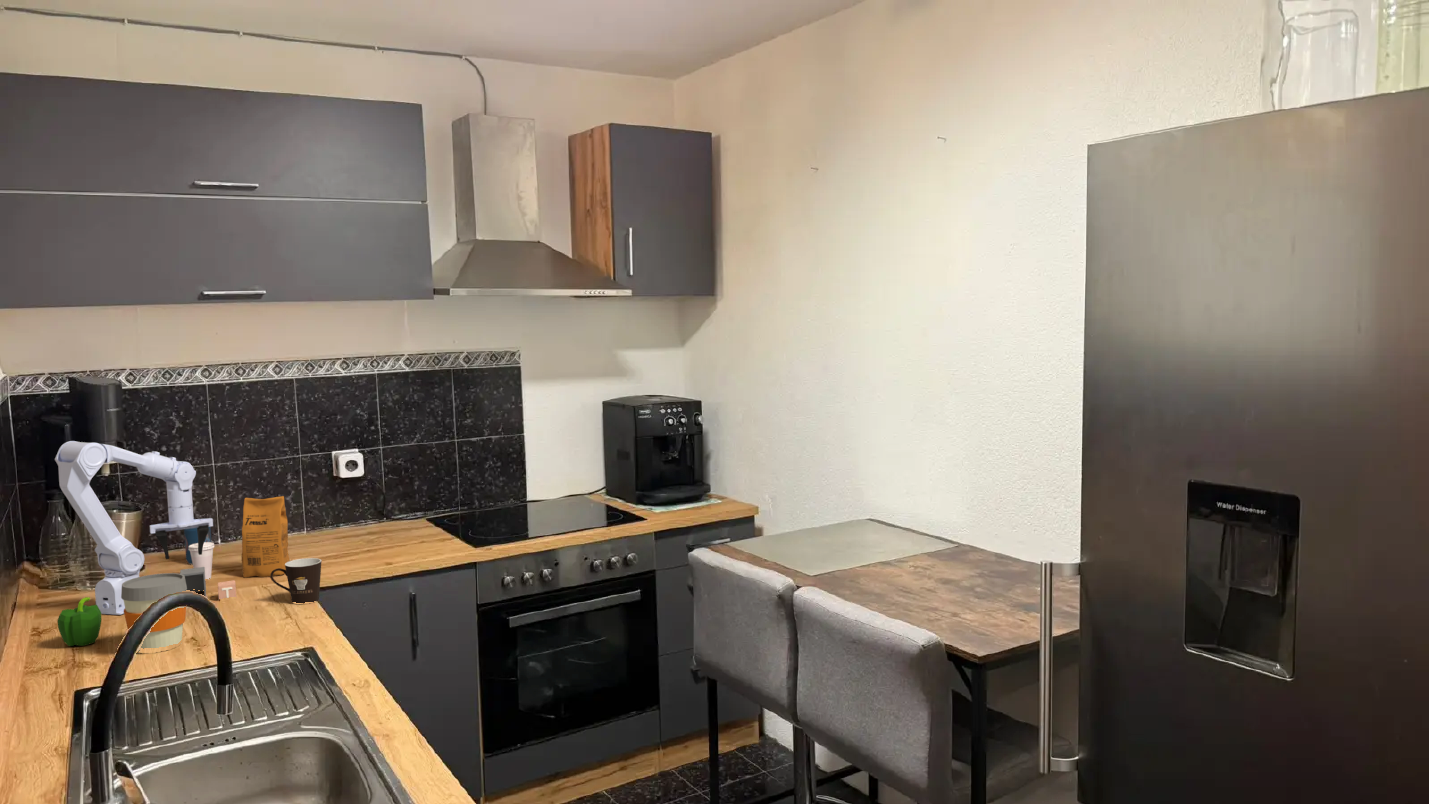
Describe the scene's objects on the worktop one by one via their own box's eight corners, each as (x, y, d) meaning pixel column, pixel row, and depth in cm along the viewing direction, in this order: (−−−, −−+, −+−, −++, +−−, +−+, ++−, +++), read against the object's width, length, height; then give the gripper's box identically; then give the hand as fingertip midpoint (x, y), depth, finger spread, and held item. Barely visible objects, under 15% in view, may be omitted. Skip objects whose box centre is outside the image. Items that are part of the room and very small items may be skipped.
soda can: (189, 560, 286) (186, 521, 285) (214, 558, 289) (212, 519, 287) (184, 566, 280) (181, 525, 279) (210, 563, 282) (207, 524, 281)
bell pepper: (72, 652, 208) (69, 607, 207) (52, 646, 212) (49, 602, 211) (112, 640, 215) (109, 597, 214) (92, 635, 219) (89, 592, 218)
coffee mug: (330, 596, 246) (328, 559, 245) (308, 606, 238) (306, 567, 237) (293, 594, 249) (290, 556, 248) (269, 603, 241) (267, 565, 240)
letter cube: (236, 599, 246) (235, 584, 245) (219, 601, 244) (218, 586, 243) (235, 595, 249) (234, 580, 249) (218, 597, 247) (217, 582, 247)
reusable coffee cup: (111, 655, 205) (106, 588, 204) (153, 636, 217) (148, 572, 216) (164, 657, 203) (159, 589, 202) (203, 638, 216) (199, 573, 214)
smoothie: (205, 582, 262) (201, 532, 260) (185, 581, 263) (181, 531, 262) (221, 576, 268) (218, 527, 267) (201, 575, 269) (198, 526, 268)
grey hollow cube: (205, 596, 249) (204, 571, 248) (181, 599, 246) (179, 574, 246) (206, 590, 254) (204, 566, 253) (182, 593, 251) (180, 569, 250)
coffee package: (250, 569, 275) (245, 494, 273) (295, 567, 276) (290, 493, 274) (236, 579, 265) (232, 501, 263) (283, 577, 266) (278, 499, 264)
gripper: (149, 511, 244) (153, 563, 246) (212, 504, 252) (216, 555, 254) (148, 507, 250) (151, 558, 252) (209, 500, 258) (213, 549, 260)
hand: (183, 556), depth 253 cm, fingers open, 7 cm apart
